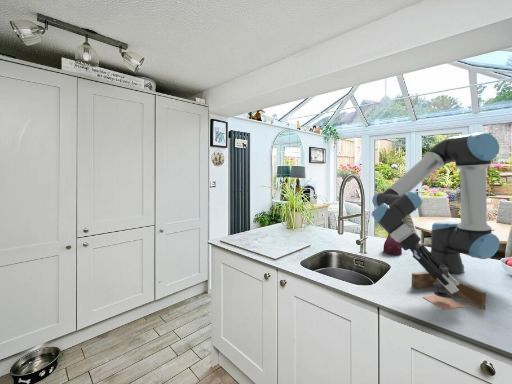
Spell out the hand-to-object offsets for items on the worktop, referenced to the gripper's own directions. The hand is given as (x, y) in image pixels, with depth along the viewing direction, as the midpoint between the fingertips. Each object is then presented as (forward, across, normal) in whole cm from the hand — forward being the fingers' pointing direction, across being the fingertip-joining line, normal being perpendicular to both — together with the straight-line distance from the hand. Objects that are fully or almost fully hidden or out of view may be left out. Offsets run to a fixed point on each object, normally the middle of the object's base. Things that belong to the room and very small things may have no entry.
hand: (455, 288), depth 91 cm
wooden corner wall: (+2, -5, -7) cm, 9 cm away
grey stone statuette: (0, 0, -5) cm, 5 cm away
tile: (+2, 0, -7) cm, 7 cm away
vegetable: (-18, -51, -27) cm, 60 cm away
